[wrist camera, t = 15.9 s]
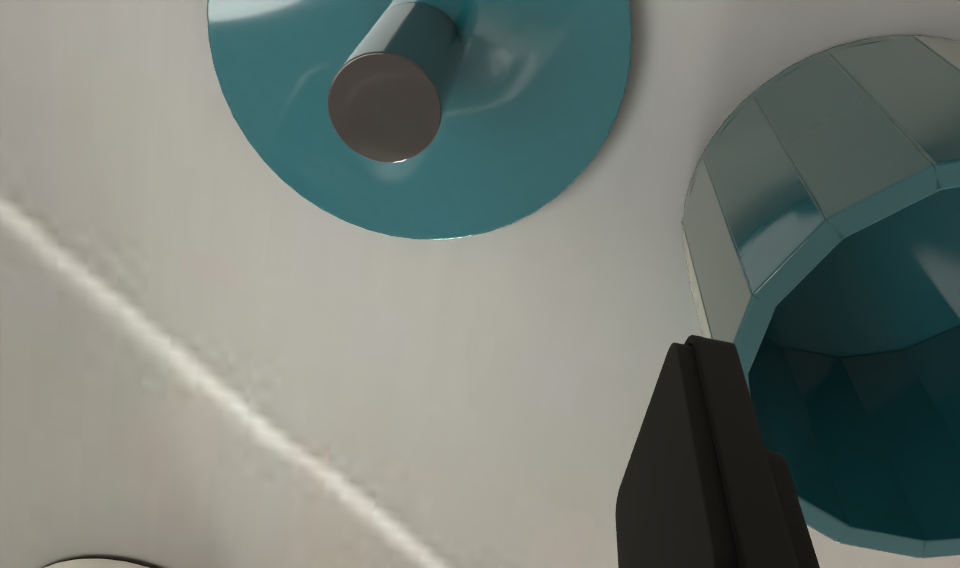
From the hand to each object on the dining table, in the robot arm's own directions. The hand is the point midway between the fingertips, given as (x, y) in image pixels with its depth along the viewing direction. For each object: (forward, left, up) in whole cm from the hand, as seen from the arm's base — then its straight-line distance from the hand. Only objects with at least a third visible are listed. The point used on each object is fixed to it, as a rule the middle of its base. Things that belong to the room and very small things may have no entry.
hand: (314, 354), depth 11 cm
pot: (+15, -4, -19) cm, 24 cm away
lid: (-1, -1, -18) cm, 18 cm away
